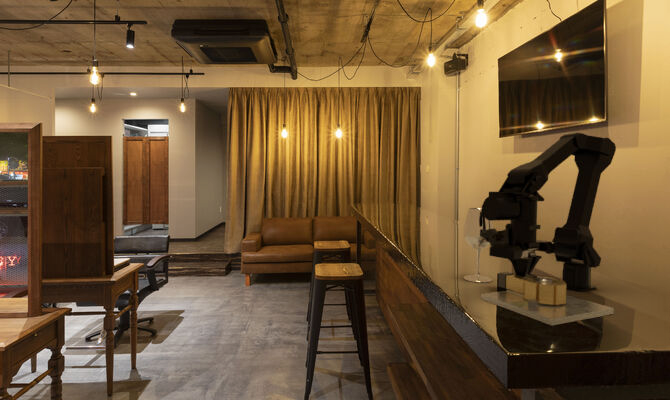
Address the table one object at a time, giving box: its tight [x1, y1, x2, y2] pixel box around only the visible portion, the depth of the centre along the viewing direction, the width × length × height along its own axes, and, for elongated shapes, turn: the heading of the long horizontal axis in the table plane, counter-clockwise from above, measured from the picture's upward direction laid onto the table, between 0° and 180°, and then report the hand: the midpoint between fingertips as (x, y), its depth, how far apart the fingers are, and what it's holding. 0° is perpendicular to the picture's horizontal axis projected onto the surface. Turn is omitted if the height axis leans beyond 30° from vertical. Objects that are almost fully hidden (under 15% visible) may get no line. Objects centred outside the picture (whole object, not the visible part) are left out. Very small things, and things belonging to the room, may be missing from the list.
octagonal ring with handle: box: [498, 271, 567, 305], centre depth 86 cm, size 8×15×5 cm, turn 22°
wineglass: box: [463, 207, 494, 284], centre depth 106 cm, size 8×8×20 cm
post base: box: [480, 276, 615, 326], centre depth 83 cm, size 18×18×6 cm
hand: (521, 284), depth 92 cm, fingers closed
